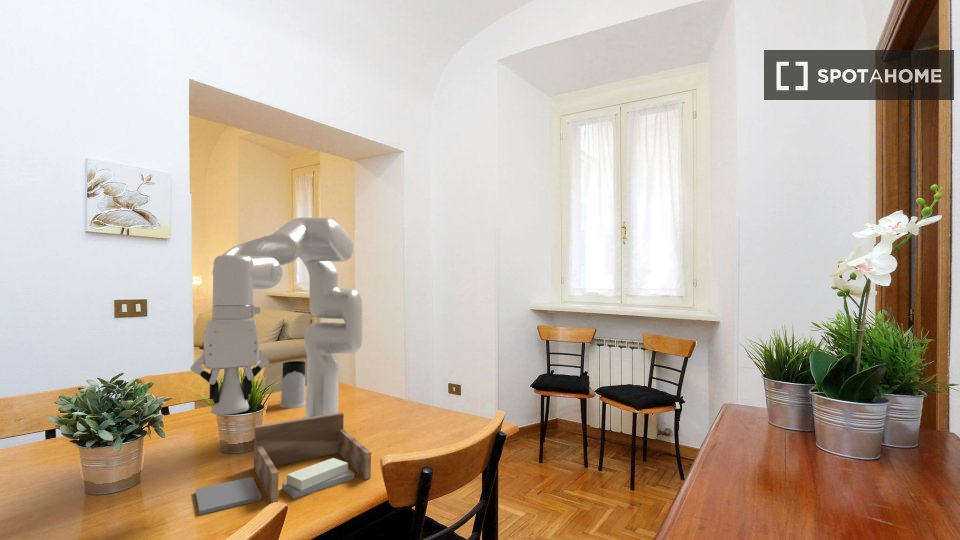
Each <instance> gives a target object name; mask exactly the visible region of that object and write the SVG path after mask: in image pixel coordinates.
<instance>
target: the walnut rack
mask: <svg viewBox="0 0 960 540" xmlns="http://www.w3.org/2000/svg"><path fill="white" fill-rule="evenodd" d="M334 454H339V455H340V456H341V457H342V458H343V459H344V460H345V462H347V463H348V465H350V466H351V467H352V468H353V469H354V470H355V471H357V473H358V474H359V475H360V476H362V478H363V479H365V480H370V479H371V478H372V474H371V473H372V470H371V469H372V451H370V450H369V449H368V448H367V447H365V445H363V444H362V443H361V442H360V441H359V440H357V439H356V438H354V437H353V436H352V435H351V434H350V433H349V432H347V430H345V429H344V413H343V412H338V413H335V414H328V415H322V416H315V417H309V418H305V417H302V418H298V419H296V418H295V419H291V420H285V421H279V422H272V423H266V424H259V425H254V439H253V470H254V471H255V473H256V476H257V477H258V479H259V482H260V483H261V485H262V487H263V490H264V491H265V493H266V495H267V497H268V499H269V501H270V503H271V504H273V503H272V502H274V503H278V502H279V471H278V469H277V467H276V466H280V465H281V466H282V465H286V464H291V463H297V462H301V461H306V460H310V459H315V458H320V457H324V456H329V455H334Z"/></svg>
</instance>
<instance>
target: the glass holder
mask: <svg viewBox="0 0 960 540" xmlns="http://www.w3.org/2000/svg"><path fill="white" fill-rule="evenodd" d="M281 375H282V376H281V396H280V397H281V401H280V404H279V407H280V408H282V409H297V408H301V407H306V362H305V361H303V360H293V361H285V362H283V363H282V374H281Z"/></svg>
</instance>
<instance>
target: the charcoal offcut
mask: <svg viewBox="0 0 960 540" xmlns="http://www.w3.org/2000/svg"><path fill="white" fill-rule="evenodd" d="M354 479H355V472H353V471H352V470H350V469H348V472H346V473H344V474H341V475H339V476H336V477H334V478H331V479H329V480H326V481H324V482H321V483H319V484H316V485H314V486H311V487H309V488H306V489H304V490H299V489H297V488H295V487H293V486H290V485H288V484H287V481H285V482H282V484H281V486H282V487H281V490H283V491H284V492H285V493H286V494H287V495H288V496H289V497H291V498H292V499H297V498H301V497H303V496H307V495H309V494H312V493H313V494H314V493H315V492H319V491H321V490H325V489H327V488H331V487H334V486H337V485H340V484H343V483H345V482H348V481H352V480H354Z"/></svg>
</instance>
